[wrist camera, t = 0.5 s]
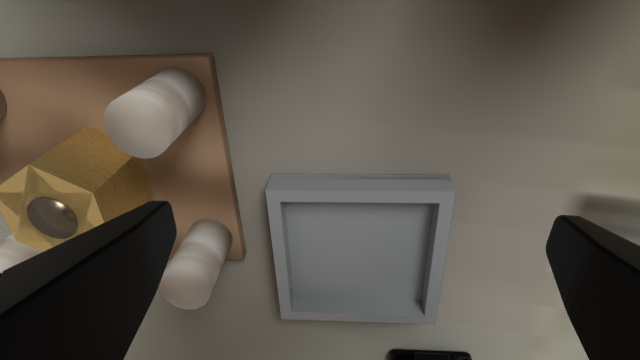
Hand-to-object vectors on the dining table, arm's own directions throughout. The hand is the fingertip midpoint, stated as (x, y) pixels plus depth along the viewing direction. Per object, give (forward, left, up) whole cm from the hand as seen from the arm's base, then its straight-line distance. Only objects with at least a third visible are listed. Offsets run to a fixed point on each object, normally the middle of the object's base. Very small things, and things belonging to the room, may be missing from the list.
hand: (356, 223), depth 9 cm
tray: (-12, 0, -14) cm, 18 cm away
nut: (-6, +16, -13) cm, 21 cm away
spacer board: (-6, +16, -14) cm, 22 cm away
